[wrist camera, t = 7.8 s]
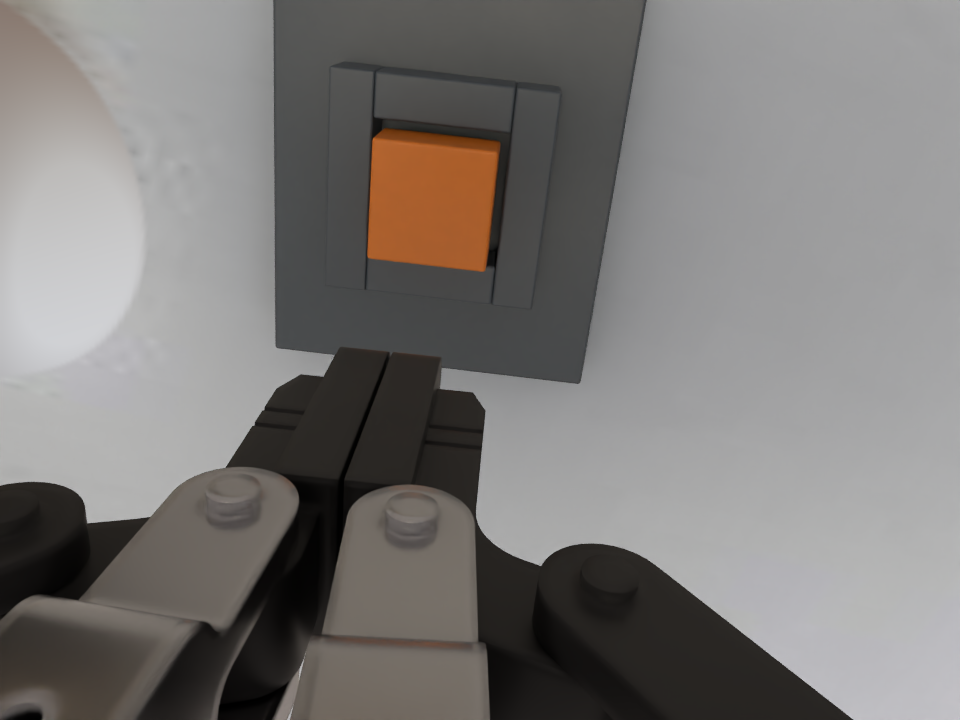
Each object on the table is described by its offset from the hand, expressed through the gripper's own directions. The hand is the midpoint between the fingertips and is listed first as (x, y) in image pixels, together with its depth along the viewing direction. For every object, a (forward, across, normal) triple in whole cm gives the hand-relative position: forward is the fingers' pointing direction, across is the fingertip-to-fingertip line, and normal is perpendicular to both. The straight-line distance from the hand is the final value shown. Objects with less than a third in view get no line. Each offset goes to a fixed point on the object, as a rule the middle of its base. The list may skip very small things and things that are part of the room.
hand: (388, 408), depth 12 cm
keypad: (+14, 0, -1) cm, 14 cm away
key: (+12, 0, -1) cm, 12 cm away
